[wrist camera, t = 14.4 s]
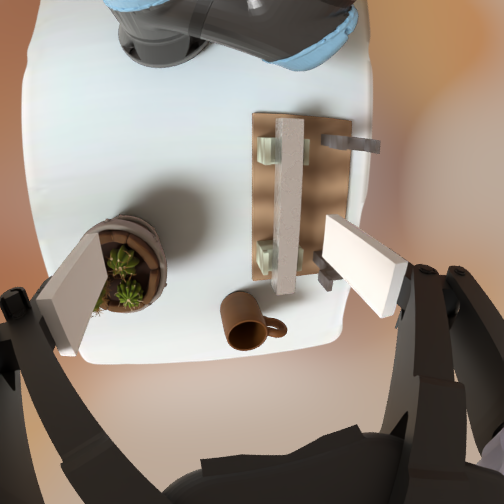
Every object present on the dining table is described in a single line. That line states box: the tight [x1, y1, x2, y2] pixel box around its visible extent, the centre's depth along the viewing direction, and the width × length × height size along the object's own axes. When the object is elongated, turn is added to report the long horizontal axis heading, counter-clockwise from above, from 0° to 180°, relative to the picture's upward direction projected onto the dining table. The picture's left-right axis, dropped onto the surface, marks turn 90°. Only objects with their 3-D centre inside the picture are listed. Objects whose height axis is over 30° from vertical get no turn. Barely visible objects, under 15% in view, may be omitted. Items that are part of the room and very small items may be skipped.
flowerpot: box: [79, 214, 167, 317], centre depth 37 cm, size 14×15×20 cm
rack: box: [252, 113, 380, 292], centre depth 44 cm, size 30×18×12 cm, turn 0°
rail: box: [271, 118, 304, 295], centre depth 43 cm, size 28×3×3 cm, turn 0°
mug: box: [220, 292, 287, 351], centre depth 52 cm, size 12×8×9 cm, turn 77°
